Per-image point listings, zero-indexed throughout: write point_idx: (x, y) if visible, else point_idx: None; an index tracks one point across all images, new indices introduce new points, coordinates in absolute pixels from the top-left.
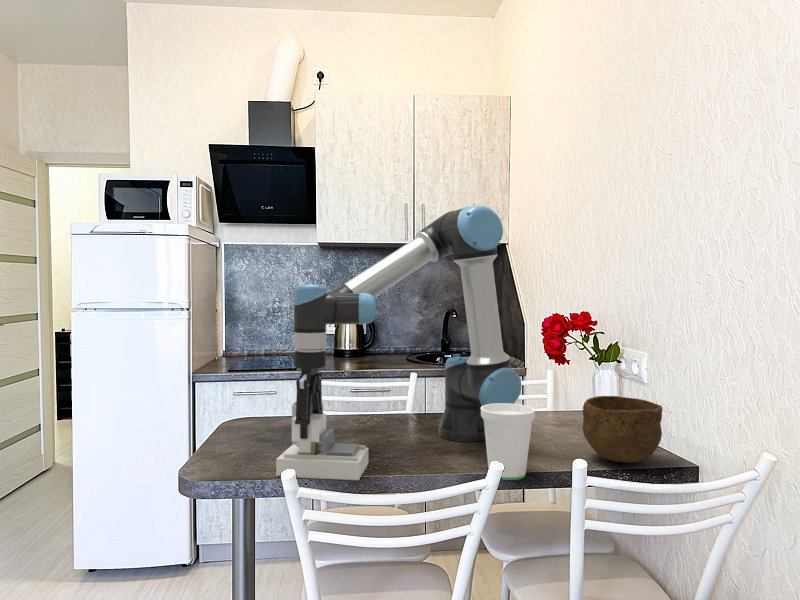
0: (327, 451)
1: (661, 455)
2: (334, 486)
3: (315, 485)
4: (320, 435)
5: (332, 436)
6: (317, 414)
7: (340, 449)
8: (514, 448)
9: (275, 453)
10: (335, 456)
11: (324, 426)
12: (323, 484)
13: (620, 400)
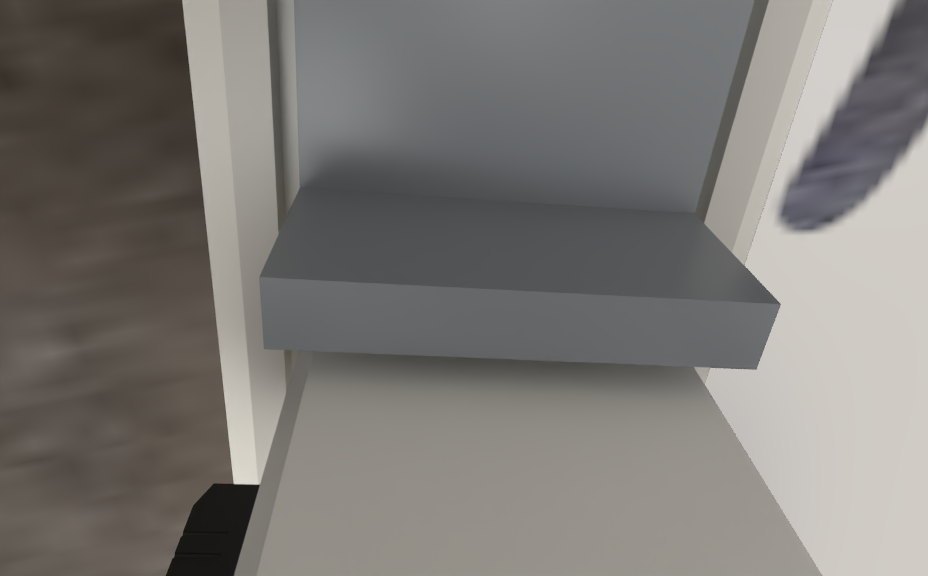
0: (676, 204)
1: None
2: (907, 17)
3: (843, 176)
4: (642, 388)
5: (389, 240)
6: None
7: (600, 57)
8: None
9: (124, 561)
10: (774, 86)
11: (418, 432)
12: (835, 119)
13: None
